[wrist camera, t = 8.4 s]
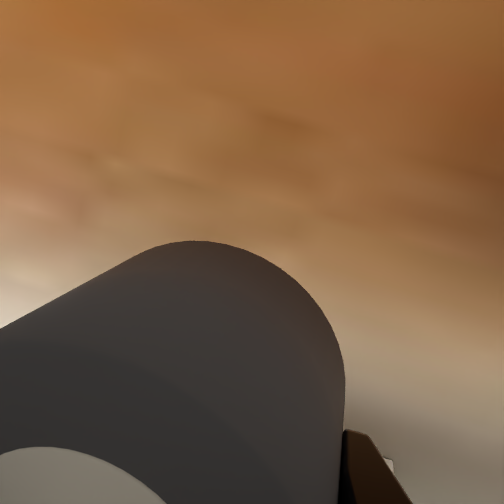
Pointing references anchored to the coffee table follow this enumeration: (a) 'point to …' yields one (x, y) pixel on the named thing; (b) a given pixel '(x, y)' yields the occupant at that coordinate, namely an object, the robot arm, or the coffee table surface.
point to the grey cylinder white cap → (173, 387)
